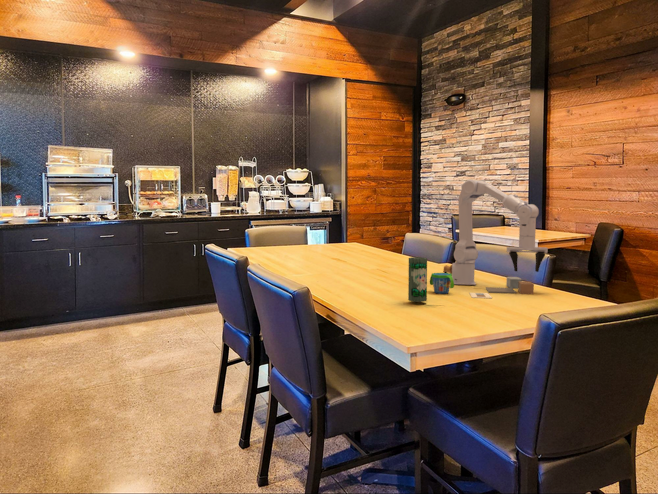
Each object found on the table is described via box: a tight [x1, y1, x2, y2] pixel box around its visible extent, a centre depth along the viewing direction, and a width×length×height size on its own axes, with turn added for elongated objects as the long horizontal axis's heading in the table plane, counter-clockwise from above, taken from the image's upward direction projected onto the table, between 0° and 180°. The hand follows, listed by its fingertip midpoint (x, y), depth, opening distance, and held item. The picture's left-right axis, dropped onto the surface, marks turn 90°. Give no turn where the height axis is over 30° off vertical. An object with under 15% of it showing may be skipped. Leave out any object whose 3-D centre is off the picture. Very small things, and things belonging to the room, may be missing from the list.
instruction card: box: [469, 292, 493, 299], centre depth 184 cm, size 7×10×1 cm
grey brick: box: [505, 276, 523, 290], centre depth 203 cm, size 4×7×4 cm, turn 172°
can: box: [407, 256, 428, 303], centre depth 175 cm, size 6×6×15 cm
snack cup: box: [429, 272, 455, 295], centre depth 190 cm, size 11×8×7 cm
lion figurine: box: [442, 264, 452, 274], centre depth 233 cm, size 12×4×7 cm, turn 33°
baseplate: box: [485, 286, 517, 295], centre depth 194 cm, size 10×10×1 cm
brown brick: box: [517, 280, 535, 295], centre depth 190 cm, size 4×7×4 cm, turn 167°
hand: (526, 271), depth 190 cm, fingers open, 7 cm apart
